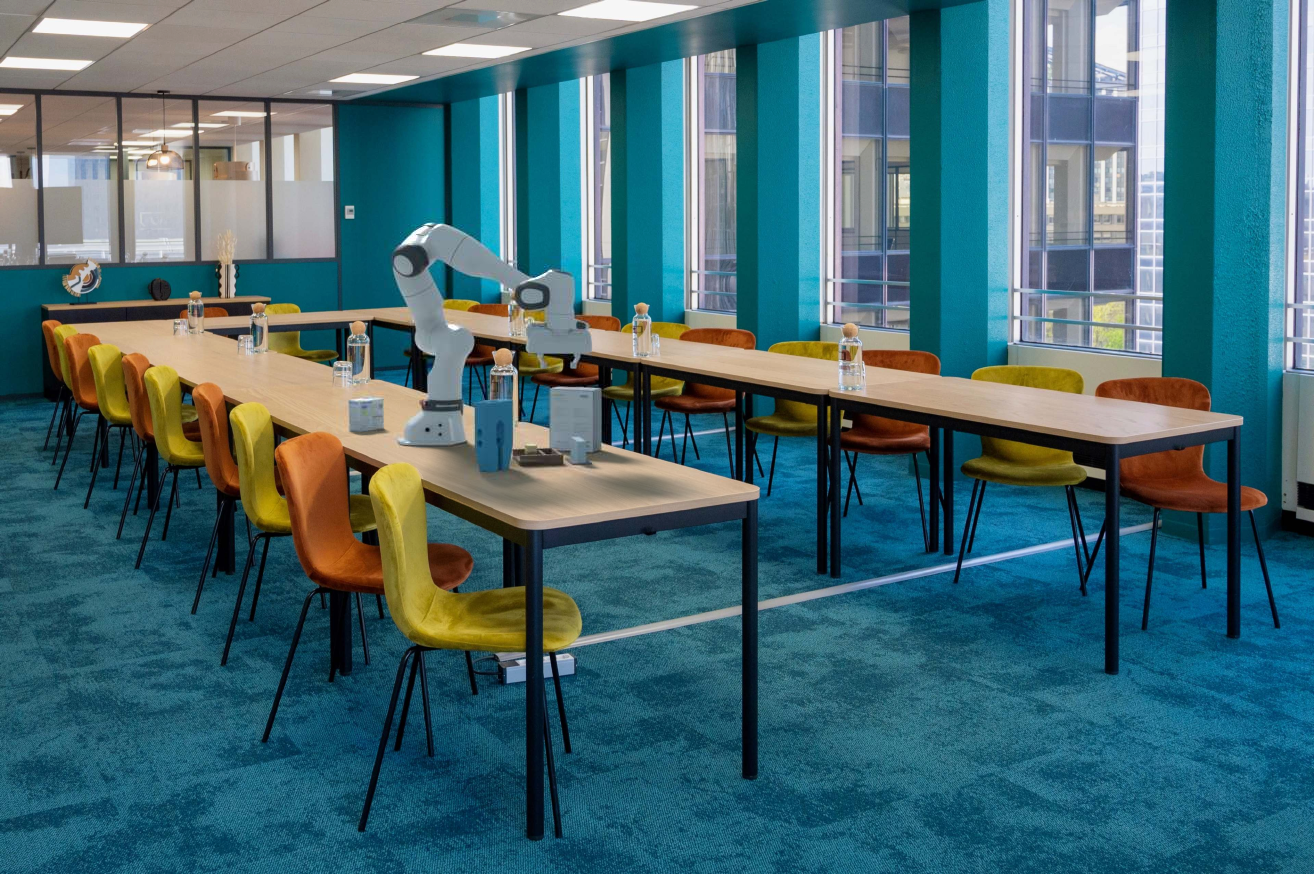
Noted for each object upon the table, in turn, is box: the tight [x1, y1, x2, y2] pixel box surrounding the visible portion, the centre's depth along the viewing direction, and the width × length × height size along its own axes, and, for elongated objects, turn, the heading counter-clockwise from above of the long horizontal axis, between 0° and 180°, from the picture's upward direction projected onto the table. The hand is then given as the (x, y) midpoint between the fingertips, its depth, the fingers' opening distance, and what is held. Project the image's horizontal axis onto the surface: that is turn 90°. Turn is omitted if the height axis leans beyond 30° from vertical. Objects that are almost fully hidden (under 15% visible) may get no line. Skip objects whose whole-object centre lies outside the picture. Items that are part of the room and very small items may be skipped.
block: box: [474, 398, 514, 473], centre depth 364 cm, size 12×5×20 cm, turn 144°
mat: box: [564, 457, 593, 466], centre depth 380 cm, size 6×10×1 cm, turn 17°
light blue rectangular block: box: [570, 437, 587, 463], centre depth 379 cm, size 3×9×6 cm, turn 17°
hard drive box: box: [548, 386, 603, 454], centre depth 400 cm, size 16×8×20 cm, turn 71°
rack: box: [511, 447, 565, 467], centre depth 379 cm, size 13×13×3 cm
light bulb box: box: [348, 396, 385, 433], centre depth 437 cm, size 11×7×11 cm, turn 144°
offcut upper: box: [524, 443, 538, 452], centre depth 380 cm, size 3×4×2 cm
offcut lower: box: [525, 450, 537, 455], centre depth 381 cm, size 3×4×2 cm
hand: (558, 368), depth 385 cm, fingers open, 8 cm apart
